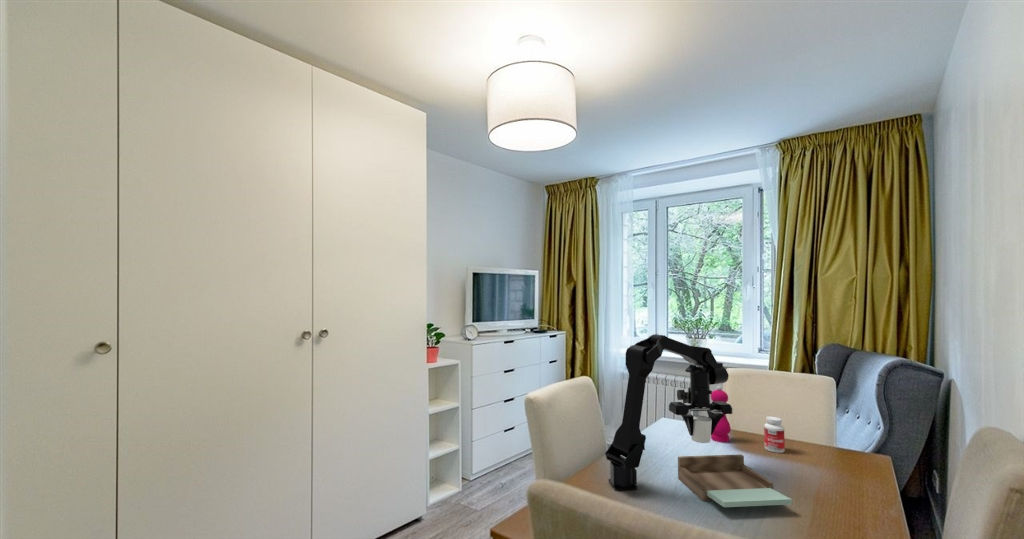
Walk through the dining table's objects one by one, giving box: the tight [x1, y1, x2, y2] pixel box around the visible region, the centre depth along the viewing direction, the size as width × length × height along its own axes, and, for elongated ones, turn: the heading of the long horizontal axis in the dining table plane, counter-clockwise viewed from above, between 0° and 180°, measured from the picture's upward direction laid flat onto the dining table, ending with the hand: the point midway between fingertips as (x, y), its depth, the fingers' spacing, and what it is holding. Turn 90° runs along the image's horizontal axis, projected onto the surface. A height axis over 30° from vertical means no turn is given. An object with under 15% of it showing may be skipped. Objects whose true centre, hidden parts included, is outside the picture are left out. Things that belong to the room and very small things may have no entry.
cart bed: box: [677, 453, 774, 502], centre depth 126 cm, size 20×14×6 cm
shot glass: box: [690, 414, 712, 444], centre depth 142 cm, size 7×7×7 cm
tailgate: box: [707, 488, 793, 508], centre depth 114 cm, size 18×1×8 cm
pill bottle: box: [763, 416, 786, 454], centre depth 156 cm, size 6×6×11 cm
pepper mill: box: [710, 385, 732, 443], centre depth 167 cm, size 7×7×20 cm
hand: (700, 435), depth 142 cm, fingers closed on shot glass, 6 cm apart
